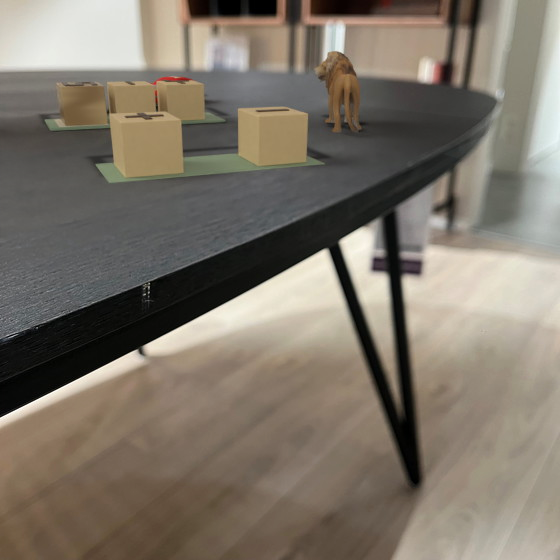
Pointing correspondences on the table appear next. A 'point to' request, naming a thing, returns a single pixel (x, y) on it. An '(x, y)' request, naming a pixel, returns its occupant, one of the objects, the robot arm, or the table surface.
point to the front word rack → (170, 162)
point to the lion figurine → (340, 90)
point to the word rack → (152, 102)
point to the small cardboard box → (82, 103)
